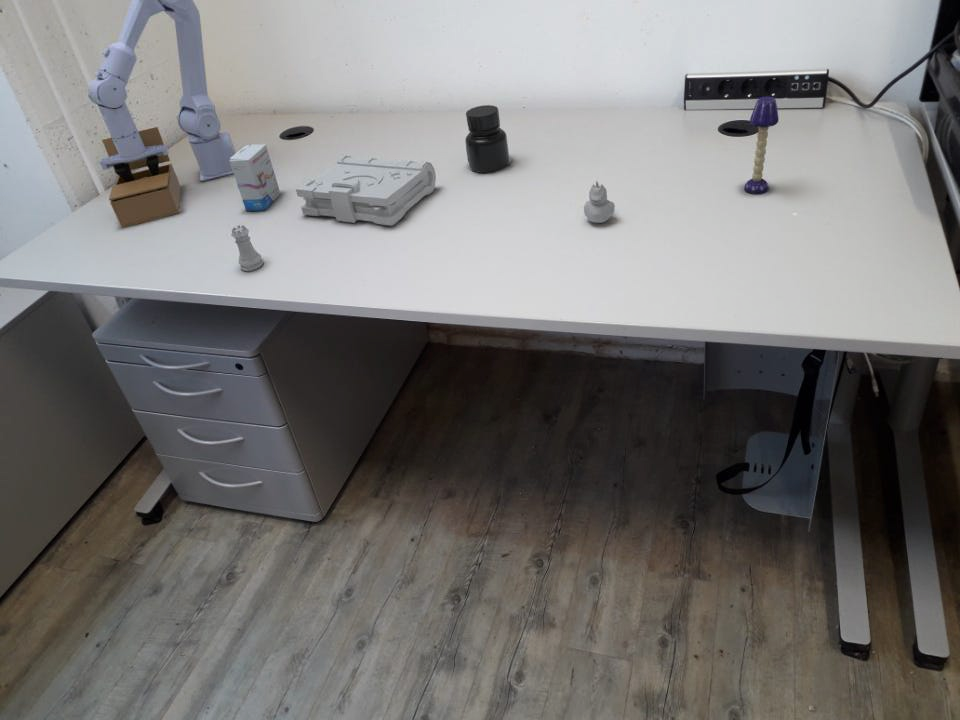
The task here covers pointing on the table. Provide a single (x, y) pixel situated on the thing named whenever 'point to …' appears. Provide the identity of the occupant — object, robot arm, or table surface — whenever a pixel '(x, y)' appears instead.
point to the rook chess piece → (246, 249)
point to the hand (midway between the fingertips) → (149, 190)
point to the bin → (146, 196)
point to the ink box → (255, 177)
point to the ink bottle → (486, 140)
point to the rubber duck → (598, 205)
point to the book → (367, 189)
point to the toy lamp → (761, 141)
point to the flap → (149, 139)
